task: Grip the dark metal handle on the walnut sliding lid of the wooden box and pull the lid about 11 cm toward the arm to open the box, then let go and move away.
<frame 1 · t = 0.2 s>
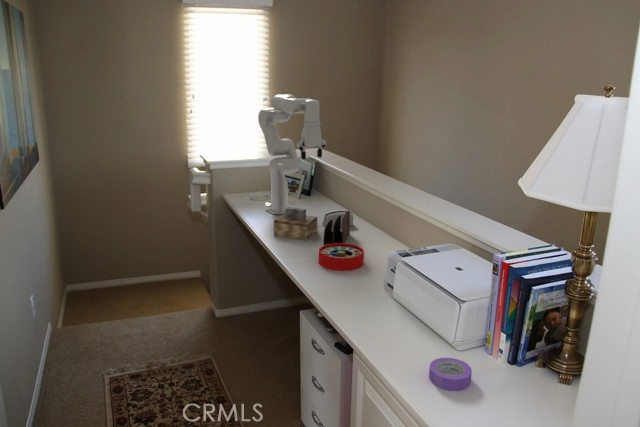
hand: (311, 158, 289), 37 cm above the worktop, tool pointing down, fingers open, 9 cm apart
letter holder: (336, 240, 278), on the worktop
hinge: (338, 226, 301), on the worktop
masking tape: (449, 380, 160), on the worktop
toy clock: (340, 263, 248), on the worktop
lid: (295, 214, 282), point 10 cm above the worktop, slide at 0.0 cm
wooden box: (295, 234, 285), on the worktop
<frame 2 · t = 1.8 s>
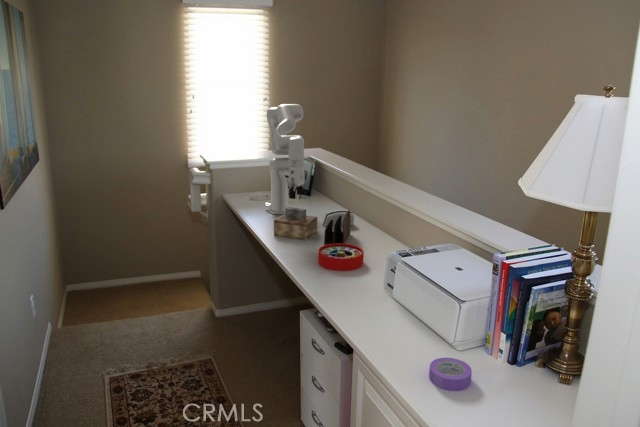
hand: (296, 196, 279), 20 cm above the worktop, tool pointing down, fingers open, 9 cm apart
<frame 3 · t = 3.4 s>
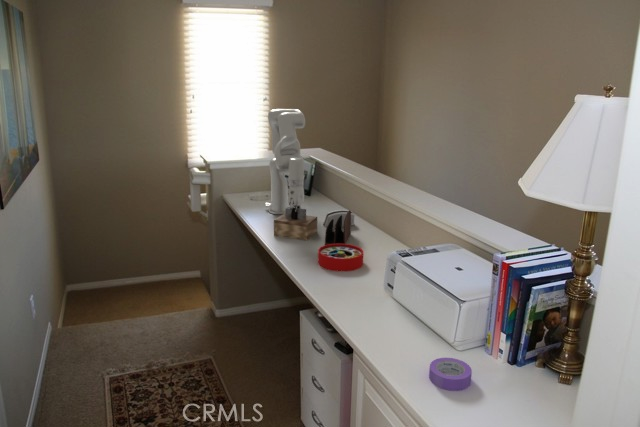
hand: (295, 217, 283), 9 cm above the worktop, tool pointing down, fingers closed on lid, 3 cm apart
lid: (295, 214, 282), point 10 cm above the worktop, slide at 0.0 cm, touching gripper
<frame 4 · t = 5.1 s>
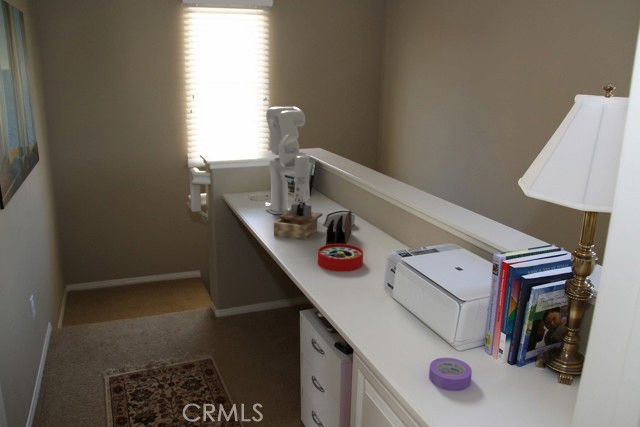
hand: (301, 214, 289), 9 cm above the worktop, tool pointing down, fingers closed on lid, 3 cm apart
lid: (301, 211, 289), point 10 cm above the worktop, slide at 7.3 cm, touching gripper
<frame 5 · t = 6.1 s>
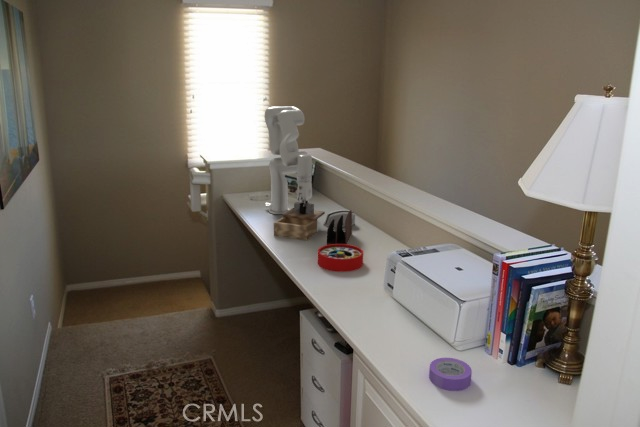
hand: (304, 212, 293), 9 cm above the worktop, tool pointing down, fingers open, 3 cm apart
lid: (304, 209, 292), point 10 cm above the worktop, slide at 11.0 cm
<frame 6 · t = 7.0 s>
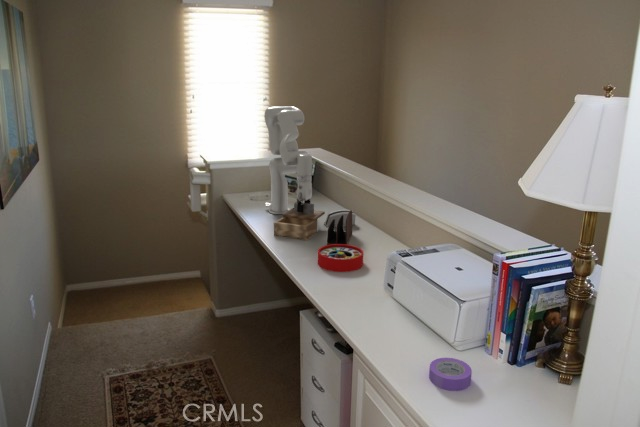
hand: (303, 209, 293), 10 cm above the worktop, tool pointing down, fingers open, 9 cm apart
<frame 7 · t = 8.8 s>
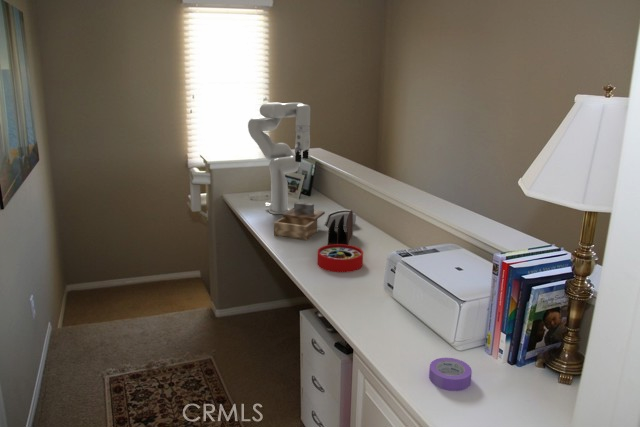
hand: (301, 160, 300), 34 cm above the worktop, tool pointing down, fingers open, 9 cm apart
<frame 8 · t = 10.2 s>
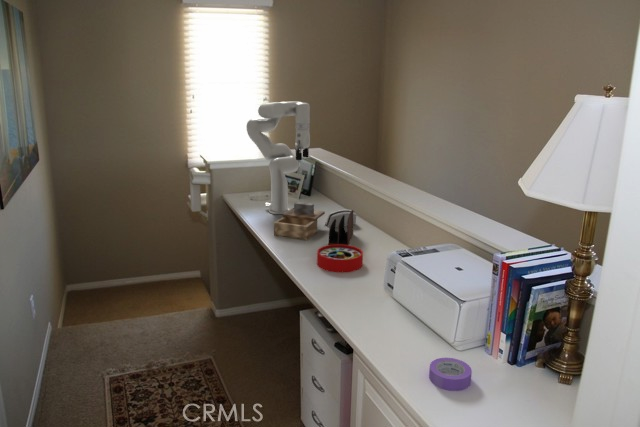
hand: (302, 158, 301), 34 cm above the worktop, tool pointing down, fingers open, 9 cm apart
at the end: lid slide at 11.0 cm; the gripper is holding nothing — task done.
